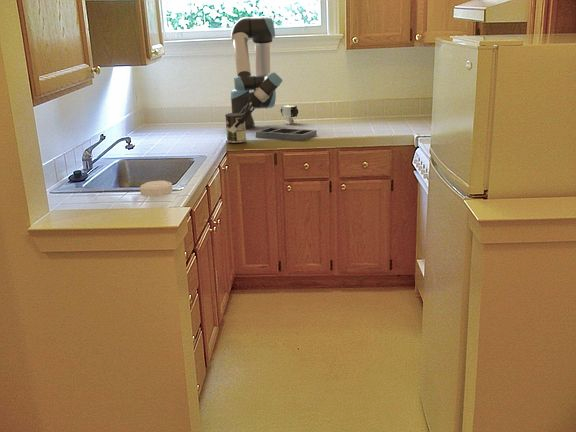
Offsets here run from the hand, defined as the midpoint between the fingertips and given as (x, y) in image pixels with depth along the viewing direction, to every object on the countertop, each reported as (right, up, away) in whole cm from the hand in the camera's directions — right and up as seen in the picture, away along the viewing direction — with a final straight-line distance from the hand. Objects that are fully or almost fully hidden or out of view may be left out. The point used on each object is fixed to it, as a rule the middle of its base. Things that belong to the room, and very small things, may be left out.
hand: (230, 129), depth 320 cm
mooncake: (-20, -37, -88) cm, 97 cm away
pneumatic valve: (+32, +11, +55) cm, 64 cm away
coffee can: (+3, -6, +2) cm, 7 cm away
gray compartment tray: (+29, -2, +14) cm, 32 cm away
